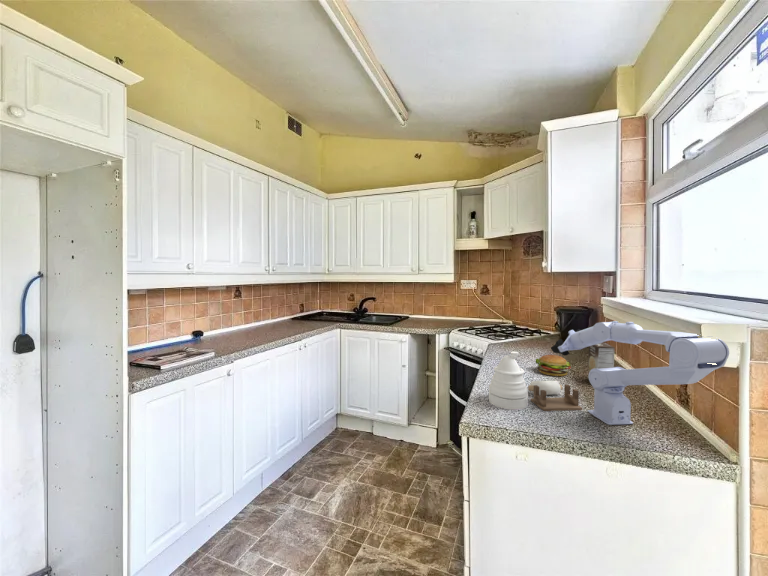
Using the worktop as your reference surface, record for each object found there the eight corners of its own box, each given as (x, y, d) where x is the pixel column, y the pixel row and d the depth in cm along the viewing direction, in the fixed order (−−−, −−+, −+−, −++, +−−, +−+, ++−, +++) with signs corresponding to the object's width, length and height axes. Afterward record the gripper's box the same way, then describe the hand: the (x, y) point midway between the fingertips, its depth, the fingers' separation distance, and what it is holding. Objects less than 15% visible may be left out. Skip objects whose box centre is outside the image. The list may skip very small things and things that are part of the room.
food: (578, 374, 145) (578, 357, 145) (556, 379, 139) (556, 360, 139) (550, 366, 158) (551, 350, 157) (529, 370, 152) (530, 353, 151)
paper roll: (564, 396, 120) (565, 382, 120) (532, 397, 120) (532, 383, 120) (556, 391, 125) (557, 378, 125) (526, 392, 125) (526, 379, 125)
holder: (582, 410, 108) (582, 392, 108) (544, 411, 108) (544, 393, 107) (565, 399, 117) (566, 382, 117) (530, 400, 117) (530, 383, 116)
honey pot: (527, 398, 119) (528, 349, 118) (528, 412, 107) (529, 358, 106) (490, 393, 124) (490, 346, 123) (487, 406, 112) (487, 354, 111)
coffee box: (587, 378, 139) (588, 341, 138) (603, 379, 138) (604, 342, 137) (596, 386, 130) (597, 346, 129) (614, 387, 129) (615, 347, 128)
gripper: (594, 319, 114) (568, 328, 126) (564, 335, 110) (540, 343, 122) (606, 337, 112) (578, 345, 124) (576, 354, 108) (550, 361, 120)
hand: (560, 345), depth 123 cm, fingers open, 7 cm apart
